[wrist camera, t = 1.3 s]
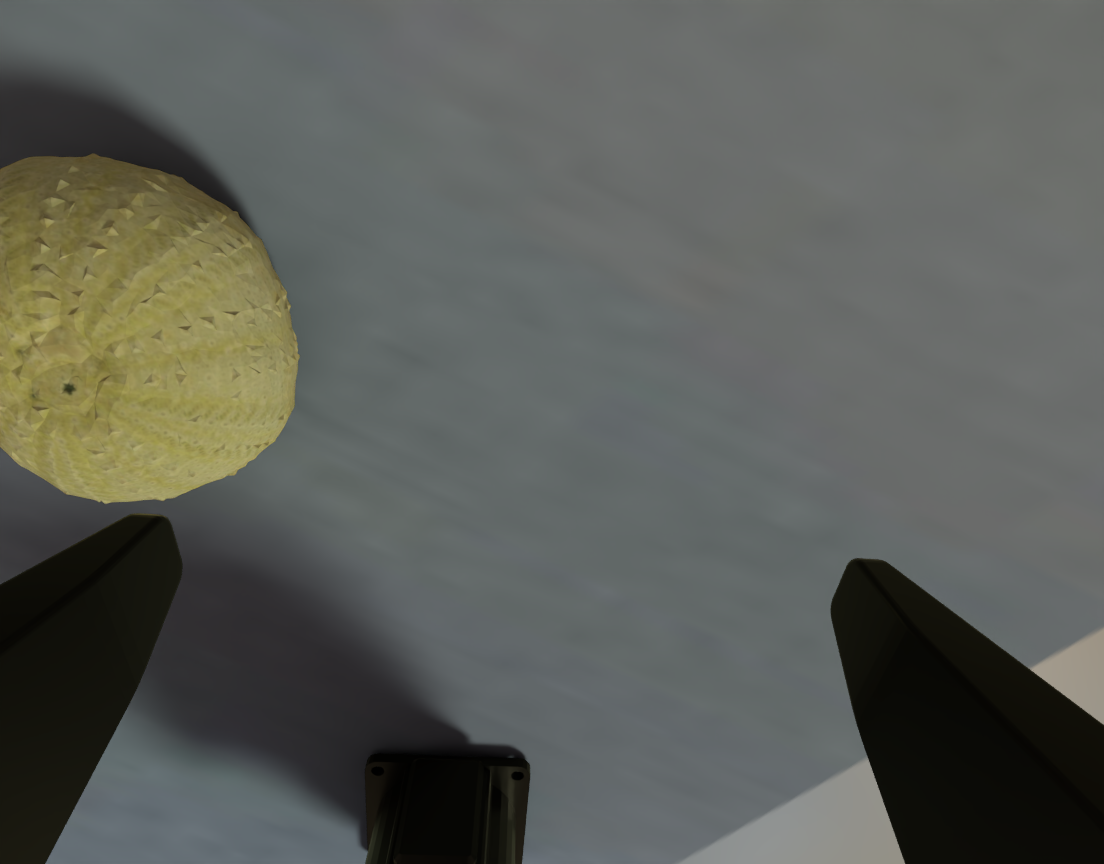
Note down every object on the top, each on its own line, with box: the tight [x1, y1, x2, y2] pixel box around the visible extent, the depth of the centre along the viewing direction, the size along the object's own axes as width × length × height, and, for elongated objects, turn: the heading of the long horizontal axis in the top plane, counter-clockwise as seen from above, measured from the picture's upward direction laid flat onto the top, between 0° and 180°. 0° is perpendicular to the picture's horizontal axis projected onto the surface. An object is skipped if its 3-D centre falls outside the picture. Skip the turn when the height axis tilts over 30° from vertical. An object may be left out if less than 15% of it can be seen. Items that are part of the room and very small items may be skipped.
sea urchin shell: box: [0, 153, 300, 504], centre depth 18 cm, size 9×8×8 cm
